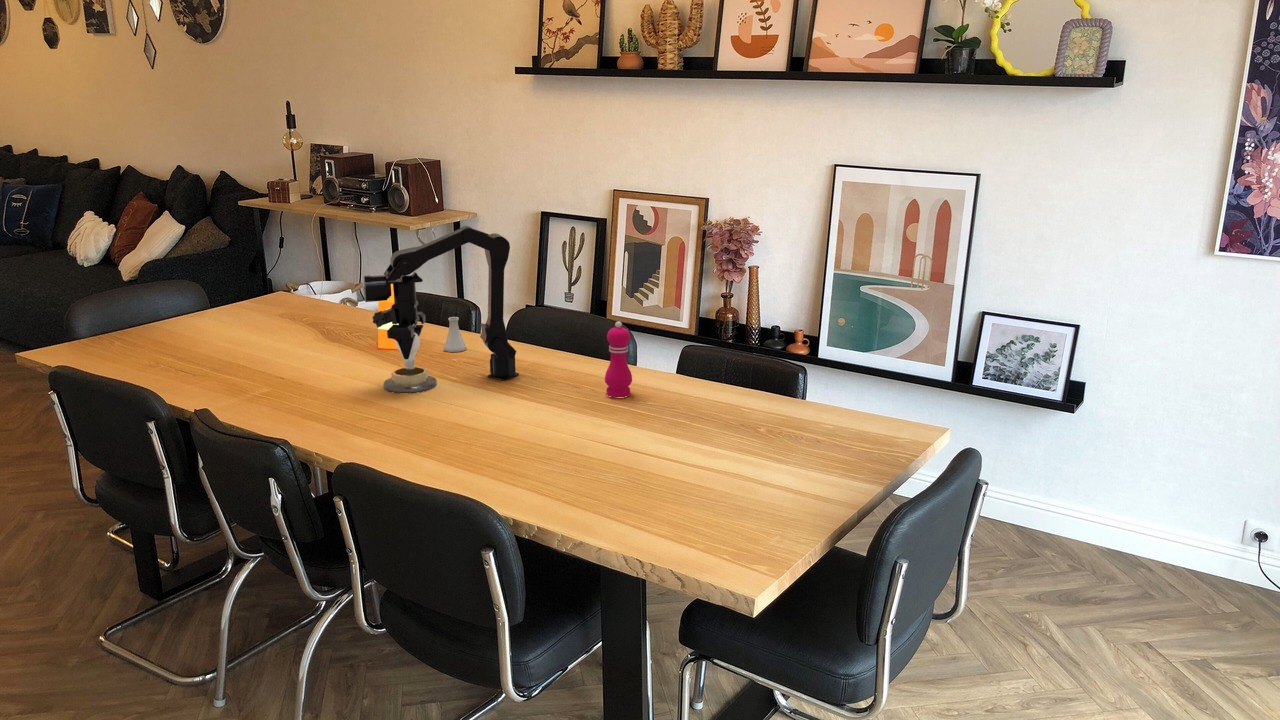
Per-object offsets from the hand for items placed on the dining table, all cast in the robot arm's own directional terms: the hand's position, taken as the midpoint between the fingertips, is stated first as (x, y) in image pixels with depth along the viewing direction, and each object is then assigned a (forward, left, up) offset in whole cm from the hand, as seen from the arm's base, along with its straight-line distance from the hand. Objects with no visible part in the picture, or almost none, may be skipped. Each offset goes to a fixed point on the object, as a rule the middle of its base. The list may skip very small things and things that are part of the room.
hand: (409, 355), depth 251 cm
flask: (+14, -34, -9) cm, 38 cm away
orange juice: (+32, -27, -9) cm, 43 cm away
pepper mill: (-52, -23, -9) cm, 57 cm away
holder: (0, 0, -8) cm, 8 cm away
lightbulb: (0, 0, -4) cm, 4 cm away
